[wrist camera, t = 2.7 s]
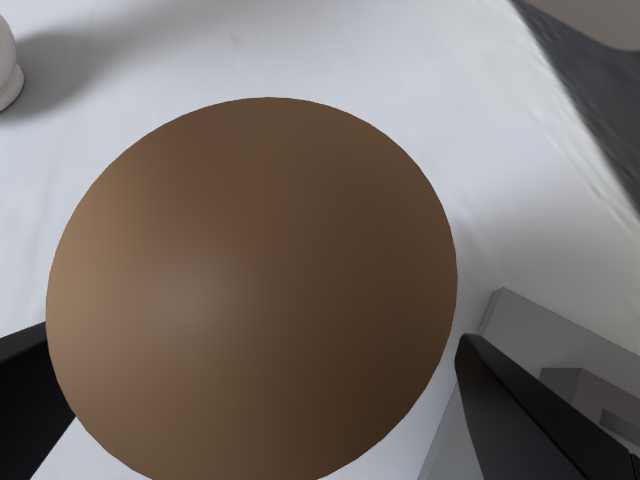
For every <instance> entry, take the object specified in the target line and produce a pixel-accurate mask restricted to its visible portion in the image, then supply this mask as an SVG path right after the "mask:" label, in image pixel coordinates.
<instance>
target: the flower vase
mask: <svg viewBox="0 0 640 480" xmlns="http://www.w3.org/2000/svg"><path fill="white" fill-rule="evenodd" d="M16 58H17V47H16V42H15V39H14V36H13V34H12V31H11V29H10V26H9V24H8V23H7V21H6V20H5V19H4V17H3V16H1V15H0V111H2V110H3V109H5V108H6V107H7V106H9V105H10V104H11V103H12V102H13V101H14V100H15V99H16V98H17V96H18V95H19V94H20V92H21V90H22V87H23V85H24V74H23V72H22V69H21V67H20V66H19V65H18V64H17V63H16Z"/></svg>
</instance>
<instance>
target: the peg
mask: <svg viewBox="0 0 640 480" xmlns="http://www.w3.org/2000/svg"><path fill="white" fill-rule="evenodd" d="M456 293H457V266H456V253H455V247H454V243H453V238H452V234H451V229H450V226H449V223H448V220H447V217H446V215H445V212H444V209H443V207H442V204H441V202H440V200H439V198H438V196H437V195H436V193H435V191H434V189H433V187H432V185H431V183H430V182H429V180H428V179H427V178H426V176H425V175H424V173H423V172H422V171H421V169H420V168H419V166H418V165H417V164H416V163H415V162H414V161H413V160H412V158H411V157H410V156H409V155H408V154H407V153H406V152H405V151H404V150H403V149H402V148H401V147H400V146H399V145H397V144H396V143H395V142H394V141H393V140H392V139H390V138H389V137H388V136H387V135H386V134H384V133H383V132H381V131H380V130H378V129H376V128H375V127H373V126H372V125H370V124H369V123H367V122H365V121H363V120H361V119H359V118H357V117H355V116H353V115H351V114H349V113H347V112H344V111H341V110H339V109H336V108H333V107H330V106H327V105H323V104H319V103H315V102H311V101H305V100H298V99H291V98H274V97H263V98H247V99H240V100H234V101H228V102H223V103H219V104H215V105H211V106H208V107H204V108H201V109H198V110H196V111H193V112H190V113H188V114H185V115H182V116H180V117H178V118H176V119H174V120H172V121H170V122H168V123H166V124H164V125H162V126H160V127H159V128H157V129H155V130H154V131H152V132H150V133H149V134H147V135H146V136H144V137H143V138H141V139H140V140H139V141H137V142H136V143H135V144H133V145H132V146H131V147H129V148H128V149H127V150H125V151H124V152H123V153H122V154H121V155H120V156H119V157H118V158H117V159H116V160H114V161H113V162H112V163H111V164H110V165H109V166H108V167H107V168H106V169H105V170H104V172H103V173H102V174H101V175H100V176H99V177H98V178H97V180H96V181H95V182H94V183H93V184H92V185H91V187H90V188H89V190H88V191H87V192H86V194H85V195H84V197H83V198H82V200H81V201H80V202H79V204H78V205H77V207H76V209H75V211H74V213H73V214H72V216H71V218H70V220H69V222H68V223H67V225H66V228H65V230H64V232H63V235H62V237H61V240H60V242H59V244H58V247H57V249H56V253H55V257H54V260H53V264H52V267H51V271H50V275H49V282H48V289H47V296H46V333H47V340H48V347H49V354H50V358H51V361H52V364H53V368H54V371H55V375H56V378H57V381H58V383H59V385H60V387H61V389H62V392H63V394H64V396H65V398H66V400H67V402H68V404H69V406H70V408H71V409H72V411H73V412H74V414H75V415H76V416H77V418H78V419H79V421H80V422H81V424H82V425H83V426H84V428H85V429H86V431H87V432H88V433H89V434H90V435H91V436H92V437H93V438H94V439H95V440H96V441H97V442H98V443H99V444H100V445H101V446H102V447H103V448H104V449H105V450H106V451H107V452H108V453H110V454H111V455H112V456H114V457H115V458H117V459H118V460H119V461H121V462H122V463H124V464H125V465H126V466H128V467H129V468H130V469H132V470H134V471H136V472H138V473H140V474H142V475H144V476H146V477H148V478H150V479H152V480H317V479H320V478H323V477H325V476H328V475H329V474H331V473H333V472H335V471H336V470H338V469H340V468H342V467H344V466H345V465H347V464H349V463H351V462H352V461H354V460H356V459H358V458H359V457H360V456H362V455H363V454H364V453H365V452H367V451H368V450H369V449H371V448H372V447H373V446H374V445H376V444H377V443H378V442H380V441H381V440H382V439H383V438H385V437H386V435H387V434H388V433H389V432H390V431H391V430H392V429H393V428H394V427H395V426H396V425H397V424H398V423H399V422H400V421H401V420H402V419H403V418H404V417H405V416H406V415H407V414H408V412H409V411H410V409H411V408H412V407H413V405H414V404H415V402H416V401H417V400H418V398H419V397H420V395H421V394H422V393H423V391H424V390H425V389H426V387H427V385H428V383H429V381H430V379H431V377H432V375H433V373H434V371H435V370H436V368H437V366H438V364H439V362H440V360H441V357H442V354H443V351H444V348H445V346H446V343H447V340H448V337H449V334H450V331H451V326H452V321H453V316H454V311H455V306H456Z"/></svg>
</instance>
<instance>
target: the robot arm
mask: <svg viewBox="0 0 640 480" xmlns="http://www.w3.org/2000/svg"><path fill="white" fill-rule="evenodd" d="M454 365H455V371H456V376H457V381H458V386H459V390H460V395H461V400H462V405H463V410H464V415H465V419H466V424H467V427H468V431H469V434H470V438H471V441H472V444H473V447H474V450H475V453H476V456H477V460H478V463H479V466H480V469H481V472H482V475H483V478H484V480H640V458H639V457H638V456H637V455H635V454H634V453H630V452H629V450H628V449H627V448H626V447H625V446H623V445H622V444H621V443H620V442H618V441H617V440H616V439H614V438H613V437H612V436H610V435H609V434H608V433H607V432H605V431H604V430H603V429H601V428H600V427H599V426H598V425H596V424H595V423H594V422H592V421H591V420H590V419H588V418H587V417H586V416H585V415H583V414H582V413H581V412H579V411H578V410H577V409H576V408H574V407H573V406H572V405H570V404H569V403H568V402H566V401H565V400H564V399H563V398H561V397H560V396H559V395H557V394H556V393H555V392H553V391H552V390H551V389H550V388H548V387H547V386H546V385H544V384H543V383H542V382H541V381H539V380H538V379H537V378H535V377H534V376H533V375H531V374H530V373H529V372H528V371H526V370H525V369H524V368H522V367H521V366H520V365H519V364H517V363H516V362H515V361H513V360H512V359H511V358H509V357H508V356H507V355H506V354H504V353H503V352H502V351H500V350H499V349H498V348H497V347H495V346H494V345H493V344H491V343H490V342H489V341H487V340H486V339H485V338H484V337H482V336H481V335H478V334H468V333H464V334H463V335H462V336H461V338H460V341H459V345H458V348H457V352H456V355H455V360H454ZM75 417H76V415H75V414H74V412H73V411H72V409H71V408H70V406H69V404H68V402H67V400H66V398H65V396H64V394H63V392H62V389H61V387H60V385H59V383H58V381H57V378H56V375H55V371H54V368H53V364H52V361H51V358H50V354H49V347H48V340H47V333H46V321H45V322H42V323H39V324H37V325H34V326H31V327H29V328H26V329H23V330H21V331H18V332H15V333H13V334H10V335H7V336H4V337H2V338H0V480H30V479H31V478H32V476H33V475H34V473H35V472H36V471H37V469H38V468H39V467H40V465H41V464H42V462H43V461H44V460H45V458H46V457H47V456H48V454H49V453H50V451H51V450H52V449H53V447H54V446H55V445H56V443H57V442H58V441H59V439H60V438H61V436H62V435H63V434H64V432H65V431H66V430H67V428H68V427H69V425H70V424H71V423H72V421H73V420H74V419H75Z"/></svg>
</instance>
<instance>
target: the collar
mask: <svg viewBox="0 0 640 480" xmlns="http://www.w3.org/2000/svg"><path fill="white" fill-rule="evenodd" d="M477 334H478V335H481V336H482V337H484V338H485V339H486V340H487V341H489V342H490V343H491V344H493V345H494V346H495V347H497V348H498V349H499V350H500V351H502V352H503V353H504V354H506V355H507V356H508V357H509V358H511V359H512V360H513V361H515V362H516V363H517V364H519V365H520V366H521V367H522V368H524V369H525V370H526V371H528V372H529V373H530V374H531V375H533V376H534V377H535V378H537V379H538V380H539V381H541V382H542V383H543V384H544V385H546V386H547V387H548V388H550V389H551V390H552V391H553V392H555V393H556V394H557V395H559V396H560V397H561V398H563V399H564V400H565V401H566V402H568V403H569V404H570V405H572V406H573V407H574V408H576V409H577V410H578V411H579V412H581V413H582V414H583V415H585V416H586V417H587V418H588V419H590V420H591V421H592V422H594V423H595V424H596V425H598V426H599V427H600V428H601V429H603V430H604V431H605V432H607V433H608V434H609V435H610V436H612V437H613V438H614V439H616V440H617V441H618V442H620V443H621V444H622V445H623V446H625V447H626V448H627V449H628V450H629V452H630V453H634V454H635V455H637V456H638V457H639V458H640V356H638V355H636V354H634V353H632V352H630V351H628V350H626V349H624V348H622V347H620V346H618V345H616V344H614V343H612V342H610V341H608V340H606V339H604V338H602V337H601V336H599V335H597V334H595V333H593V332H591V331H589V330H587V329H585V328H583V327H581V326H579V325H577V324H575V323H573V322H571V321H569V320H567V319H565V318H563V317H561V316H559V315H557V314H555V313H553V312H551V311H549V310H548V309H546V308H544V307H542V306H540V305H538V304H536V303H534V302H532V301H530V300H528V299H526V298H524V297H522V296H520V295H518V294H516V293H514V292H512V291H510V290H508V289H506V288H504V287H503V288H501V289H499V290H496V291H494V293H493V296H492V298H491V300H490V303H489V305H488V308H487V310H486V313H485V315H484V318H483V320H482V323H481V325H480V327H479V330H478V332H477ZM417 480H484V478H483V475H482V472H481V469H480V466H479V463H478V460H477V456H476V453H475V450H474V447H473V444H472V441H471V438H470V434H469V431H468V427H467V424H466V419H465V415H464V410H463V405H462V400H461V395H460V390H459V386H458V381H457V384H456V386H455V389H454V391H453V394H452V396H451V398H450V401H449V403H448V406H447V408H446V411H445V413H444V416H443V418H442V420H441V423H440V425H439V428H438V430H437V433H436V435H435V438H434V440H433V442H432V445H431V447H430V450H429V452H428V455H427V457H426V460H425V462H424V465H423V467H422V469H421V472H420V474H419V477H418V479H417Z"/></svg>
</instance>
